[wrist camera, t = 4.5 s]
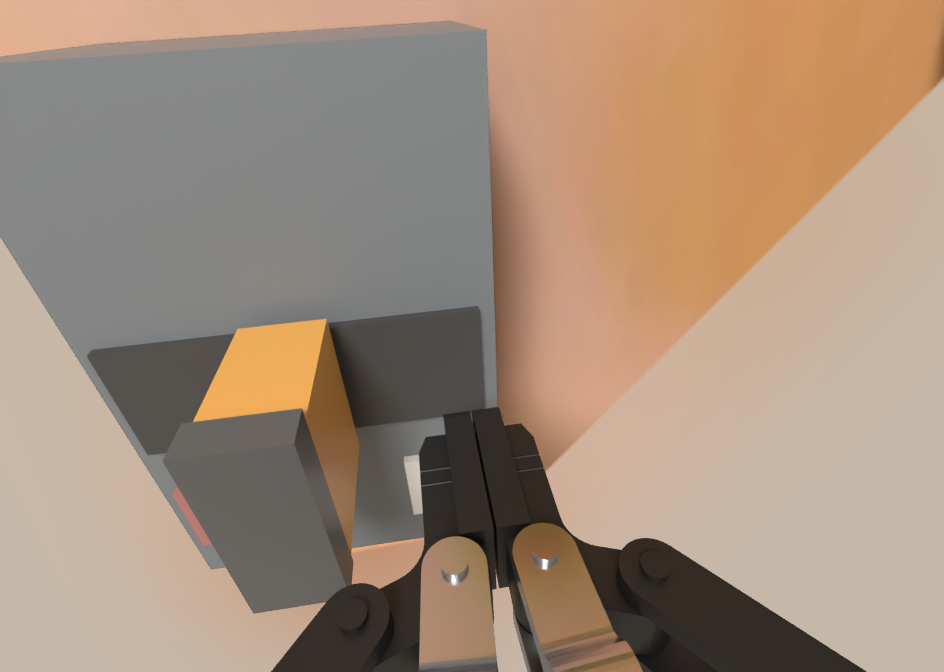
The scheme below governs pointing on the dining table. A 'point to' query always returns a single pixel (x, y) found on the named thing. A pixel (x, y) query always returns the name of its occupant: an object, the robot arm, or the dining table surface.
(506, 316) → the dining table surface
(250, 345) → the breaker handle
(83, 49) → the breaker box
